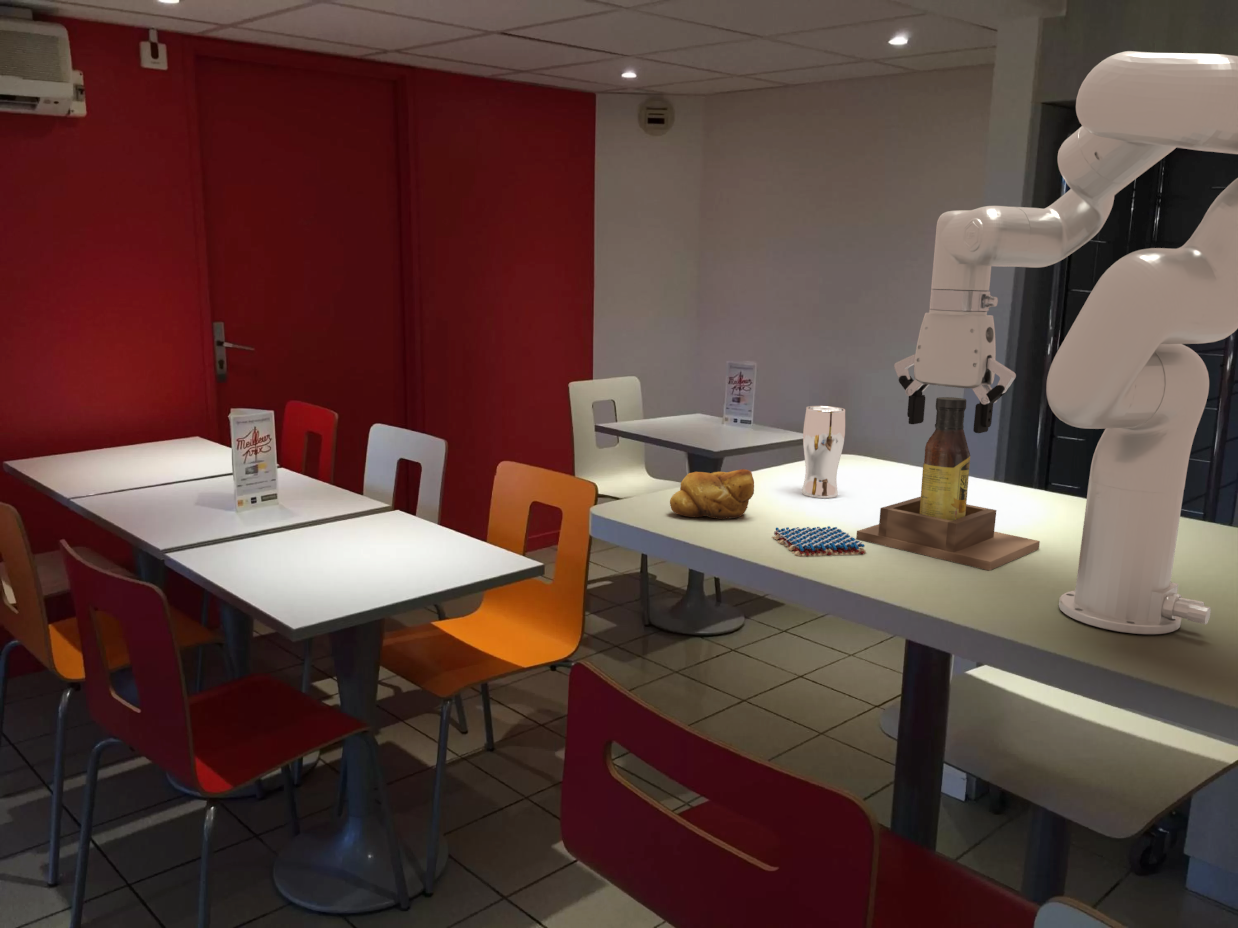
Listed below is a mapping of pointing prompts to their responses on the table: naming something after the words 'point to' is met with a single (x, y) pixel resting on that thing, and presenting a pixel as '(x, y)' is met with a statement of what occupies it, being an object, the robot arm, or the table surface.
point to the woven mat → (818, 541)
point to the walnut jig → (947, 536)
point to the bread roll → (714, 494)
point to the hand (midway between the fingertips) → (947, 427)
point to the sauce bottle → (946, 463)
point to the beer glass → (822, 449)
